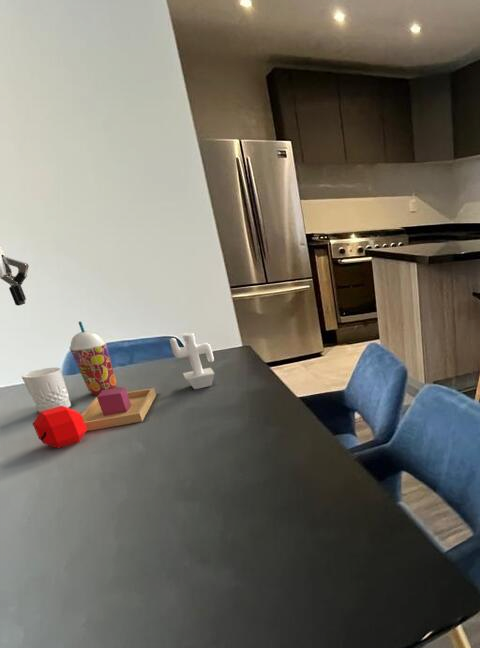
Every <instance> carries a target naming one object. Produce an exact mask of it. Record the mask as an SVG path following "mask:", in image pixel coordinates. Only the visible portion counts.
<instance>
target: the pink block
mask: <svg viewBox="0 0 480 648" xmlns="http://www.w3.org/2000/svg"><path fill="white" fill-rule="evenodd" d="M127 392H128V391H127V388H126V386H123V387H116V388H115V389H108V390H102V391H101V393H100V394H99V395H96V397H97V399H98V401H99V404H100V407H101V410H102V412H103V415H104V416H106V415H112V414H118V413H124V412H127V411H128V409H129V408H130V406H131V403H130V400H129V397H128V394H127Z"/></svg>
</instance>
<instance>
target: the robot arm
mask: <svg viewBox="0 0 480 648" xmlns="http://www.w3.org/2000/svg"><path fill="white" fill-rule="evenodd" d="M11 266H12V267H15V268H17V273H16V275H14V274H12V273H13V272H12V267H11ZM29 267H30V265H29V264H28V263H27V262H24V261H21V260H18V259H14V258H11V257H8V256H6V254H5V252H4V250H3V248H2V246H1V245H0V279H1V280H2V281H4V282H5V283H7V284H9V285H10V286H9V288H8V289H9V292H10V295H11V297H12V299H13V302H14V305H15V306H17V307H18V306H22V305H25V304H26V300H27V299H26V295H25V293H24V290H23V287H22V285H23V283H24V281H25V280H26V278H27V277H28V272H29V271H28V270H29Z"/></svg>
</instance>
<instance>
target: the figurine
mask: <svg viewBox="0 0 480 648" xmlns="http://www.w3.org/2000/svg"><path fill="white" fill-rule="evenodd" d="M182 339H183V342H184V343H185V346H181V347H180V346H179V344H178V341H177V339H176V338H175V337H171V338H170V339H169V344H170V348H171V351H172V354H173V356H174V357H175V358H176V359H182V358H188V359H189V361H190V362H189V363H190V365H191V369H192V370H191V371H187V372H182V375H183V376H184V379H185V380H186V381H187V382H188V384H189V385H190V386H191V387H192V388H193V389H194V390H198V389H202V388H207V387H212V385H213V381H214V378H215V372H214V370H213V369H212V368H211V367H206V368H203V366H202V362H201V358H200V355H204V354H205V355H206V359H207V361H208V362H209V363H213V362H214V361H215V358H214V354H213V350H212V346H211V344H210V343H208V342H203V343H198V344H197V343H196V337H195V333H194V332H191V331H190V332H184V333H183V334H182Z"/></svg>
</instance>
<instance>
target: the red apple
mask: <svg viewBox="0 0 480 648" xmlns="http://www.w3.org/2000/svg"><path fill="white" fill-rule="evenodd" d="M81 414H82V413H80V412H79V411H78V410H75V409H72V408H70V407H69V408H67V407H65V406H59V407H56V408H52V409H48V410H44V411H41V412H39V413H38V415H37V416H36V418H35V420H34V421H33V422H32V426H33V427H34V431H35V433H36V435H37V437H38V439H39V440H40V441H41V443H42V444H44V445H47V446H50V447H53V448H57V449H60V448H64V447H67V446H70V445H73V444H77V443H80V442H81V440H82V439H83V437H84V435H85V434H86V432H88V431H87V428H86V425H85V422H84V420H83V417H82V415H81Z"/></svg>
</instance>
